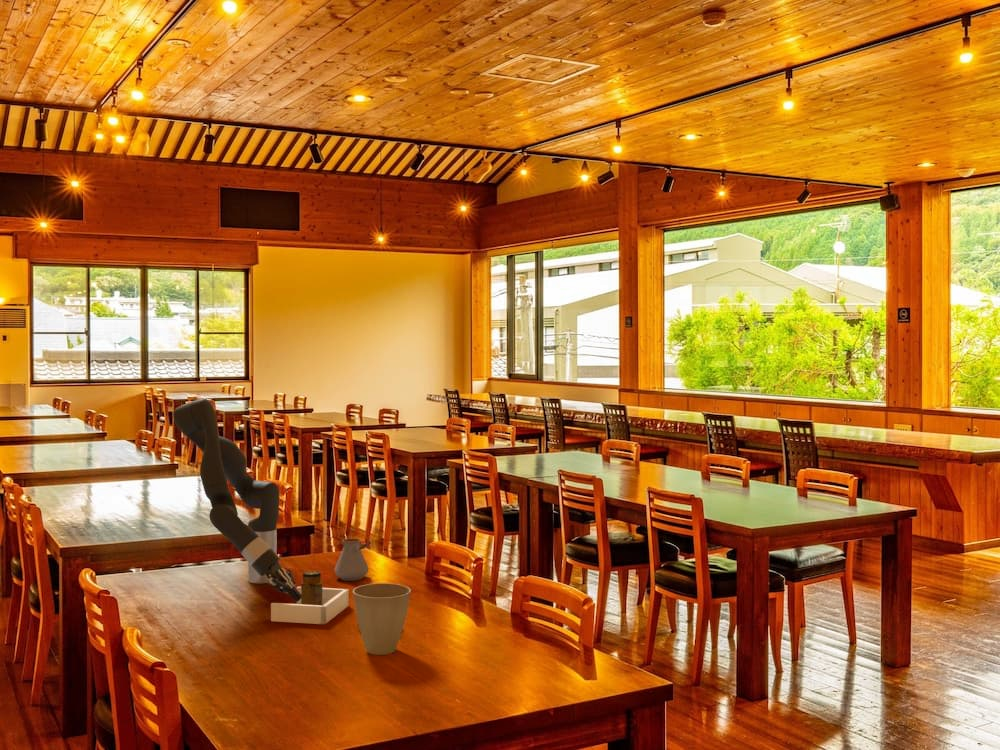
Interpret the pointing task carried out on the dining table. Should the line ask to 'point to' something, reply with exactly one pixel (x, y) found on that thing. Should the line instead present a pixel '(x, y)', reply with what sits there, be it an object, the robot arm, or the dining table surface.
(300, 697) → the dining table surface
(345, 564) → the coffee pot
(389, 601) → the plant pot
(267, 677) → the dining table surface
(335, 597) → the caddy
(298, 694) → the dining table surface
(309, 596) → the condiment
